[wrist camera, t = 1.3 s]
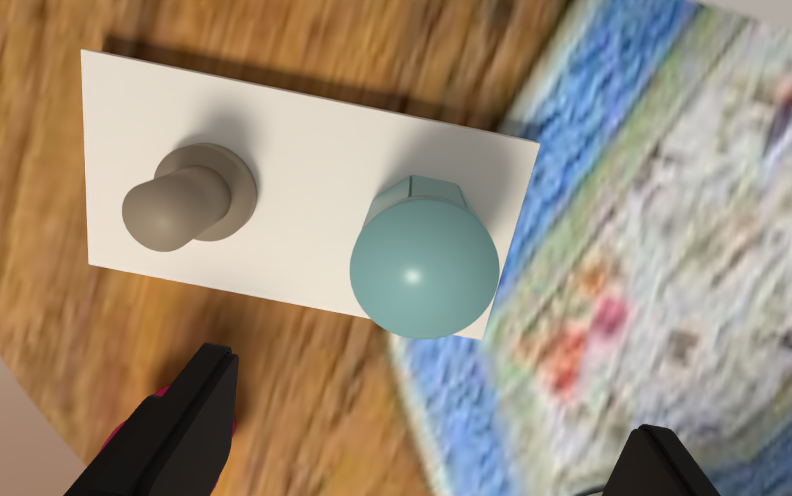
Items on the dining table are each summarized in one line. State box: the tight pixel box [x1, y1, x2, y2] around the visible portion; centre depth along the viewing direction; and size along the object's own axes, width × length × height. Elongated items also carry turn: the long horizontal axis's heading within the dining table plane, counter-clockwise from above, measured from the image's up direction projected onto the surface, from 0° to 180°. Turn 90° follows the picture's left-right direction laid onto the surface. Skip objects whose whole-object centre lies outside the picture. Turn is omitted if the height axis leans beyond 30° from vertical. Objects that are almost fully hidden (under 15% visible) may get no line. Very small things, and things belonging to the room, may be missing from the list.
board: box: [81, 49, 540, 340], centre depth 24 cm, size 24×12×7 cm, turn 79°
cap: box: [349, 175, 500, 339], centre depth 23 cm, size 7×7×6 cm
